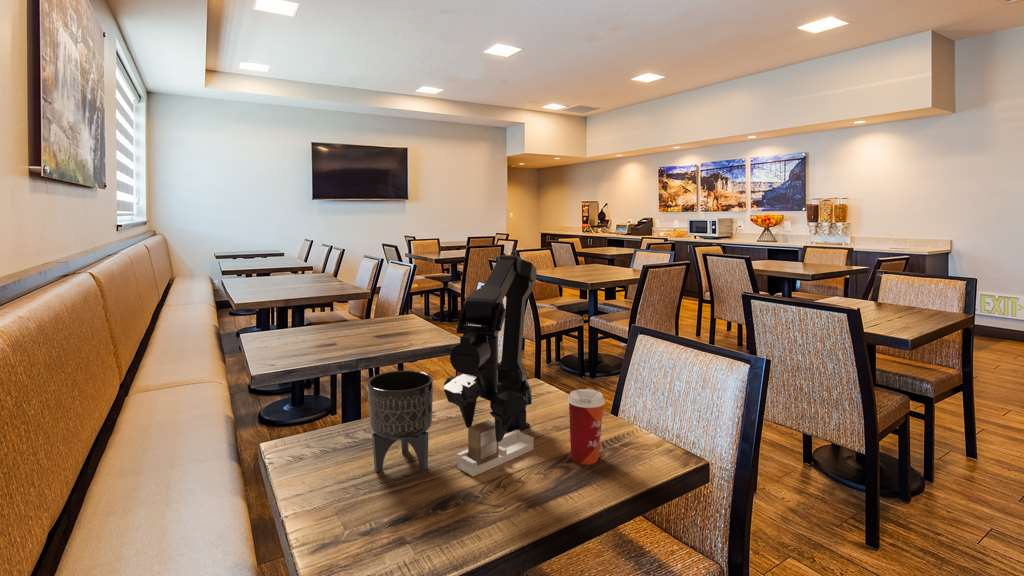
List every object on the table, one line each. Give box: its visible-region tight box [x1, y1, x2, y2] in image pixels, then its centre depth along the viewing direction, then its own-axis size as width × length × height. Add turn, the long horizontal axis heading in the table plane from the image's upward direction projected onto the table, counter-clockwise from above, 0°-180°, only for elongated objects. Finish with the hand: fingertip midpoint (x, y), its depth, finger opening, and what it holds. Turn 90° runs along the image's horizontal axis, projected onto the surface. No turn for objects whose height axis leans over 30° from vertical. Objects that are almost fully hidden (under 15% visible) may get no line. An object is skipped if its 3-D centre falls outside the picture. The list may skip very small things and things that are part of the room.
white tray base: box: [456, 429, 535, 477], centre depth 113 cm, size 5×17×3 cm, turn 134°
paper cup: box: [567, 388, 606, 466], centre depth 112 cm, size 8×8×14 cm
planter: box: [366, 370, 434, 473], centre depth 109 cm, size 13×13×18 cm
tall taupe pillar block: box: [467, 419, 499, 465], centre depth 109 cm, size 6×3×7 cm, turn 134°
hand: (483, 434), depth 108 cm, fingers open, 9 cm apart
